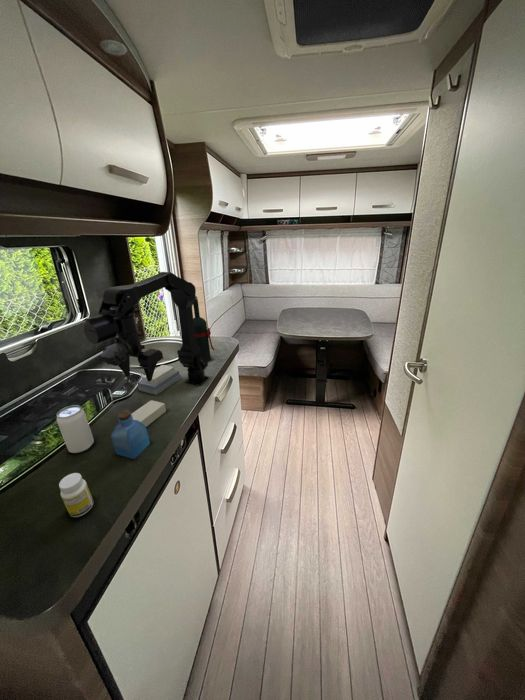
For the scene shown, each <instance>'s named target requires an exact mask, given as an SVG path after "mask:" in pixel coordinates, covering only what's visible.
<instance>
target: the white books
mask: <svg viewBox="0 0 525 700" xmlns="http://www.w3.org/2000/svg"><path fill="white" fill-rule="evenodd" d="M166 412H167V408H166V404H165V403H164V402H161V401H160V402H159V401H156V400H153V399H150V400H149V401H148V402H146V403H145V404H143V405H142V406H140V407H139V408H138V409H136V410H135V411H133V412H132V413H131V414H132V417H133V420H138V421H139V422H141V423H142V424H144V425H145V426H146V428H147V427H149V425H151V424H152V423H154V422H155V420H157V419H158V418H159V417H161V416H162V415H163V414H165V413H166Z"/></svg>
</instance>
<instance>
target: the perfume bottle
mask: <svg viewBox="0 0 525 700" xmlns="http://www.w3.org/2000/svg"><path fill="white" fill-rule="evenodd" d="M117 421H118V424H116V426H114V428H113V430H112V433H111V435H110V439H111V442H112V445H113V449H114V451H115V455H118V456H121V457H125V458H129V459H133V460H135V459H136V458H138V457H139V455H140V454H141V453H142V452H143V451H144V450H145V449H146V448H147V447H148V446H149V445H151V442H150V439H149V433H148V430H147V427H146V426H145V425H144V424H142V423H141V422H139V421H138V420H133V417H132V413H131V410H130V409H124V410H121V411H119V412H118V413H117Z"/></svg>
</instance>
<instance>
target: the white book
mask: <svg viewBox="0 0 525 700" xmlns="http://www.w3.org/2000/svg"><path fill="white" fill-rule="evenodd" d="M174 370H175V367H174V366H171V365H166V364H161V365H160V366H158V367H155V370H154V373H153V377H152V380H151V381H150V382H149V381H148V380H147V378H146V375H145V374H144V375H142V376H141V378H142V379H143V381H144V382H148V383H152V384H156V383H157V382H159V381H160V380H162V379H164V378H165V377H167V376H168V375H170V374H171V373H173V372H174ZM142 379H141V380H142Z"/></svg>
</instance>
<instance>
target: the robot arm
mask: <svg viewBox="0 0 525 700" xmlns="http://www.w3.org/2000/svg"><path fill="white" fill-rule="evenodd" d="M163 288H164V289H165V290H166V291H167V292H169V293H170V296H171V299H172V301H173V303H174V304H175V305H176V307H177V312H178V319H179V320H178V321H179V329H180V336H181V347H180V348H179V349H178V350H177V360H178V361H179V363H180V364H181V365H182V367H183V368H187V378H188V379H187V380H186V383H187V384H192V385H197V386H201V385H202V384H203V383H204V382H205V381H207V380H208V379H209V376H207V375H206V374H205V370H207V369H206V368H207V367H208V365H209V361H207V360H205V359H204V358H202V355H201V350H200V349H199V347H198V346H197V344H196V340H195V331H194V321H193V318H194V311H193V303H194V301H195V298H196V296H197V295H196V294H197V293H196V292H197V291H196V289H197V288H196V286H195V284H193V282H190V281H187V280H185V279H184V278H182V277H179V276H177V275H176V274H175V273H173V272H171V271H160V272H158V273H156V274H155V275H152V276H150V277H147V278H145V279H142V280H139V281H137V282H134V283H132V284H127V285H115V286H111V287H108V288H105V290H104V291H103V294H102V299H101V303H100V306H99V308H98V310H97V311H98V312H97V315H95V316H90V317H86V318H84V321H85V323H84V325H83V330H82V331H83V334H84V336H85V338H86V339H87V340H88V341H89V342H90V343H91V344H92V345H97V344H99V343H102V342H105V341H107V340H110V339H113V343H112V344H110V345H108V346H105V347H104V348H103V349H102V353H101V354H100V357H101V358H102V359H103V361H104V362H105V363H106V364H107V365H110V366H114V367H119V369H120V370H121V372H122V373H123V374H124V375H125V377H129V376H130V375H131V361H130V357H133V358H137V363H139V364H138V366H139V367H141V368H142V369H143V371H144V375H146V378H147V380H148V381H149V382H150V381H151V380H152V377H153V373H154V370H155V369H156V368H157V364H158V362H160V361H161V360H163V359H164V354H163V351H162V350H160V349H156V348H149V349H147V350H145V349H146V345H145V344H142V342H141V337H143V333H142V331H138V325H137V322H136V317H135V315H137V314H140V313H141V310H140V309H138V308H137V307H136V305H137V304H139V302H140V300H142V298H144V297H147V296H149V295H151V294H153V293H156V292H157V291H159V290H161V289H163ZM143 350H145V351H143Z"/></svg>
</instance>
